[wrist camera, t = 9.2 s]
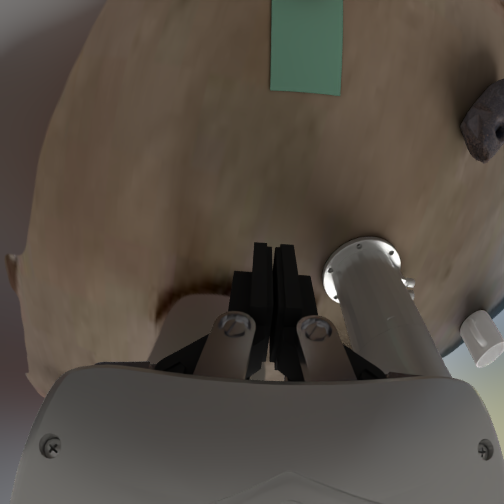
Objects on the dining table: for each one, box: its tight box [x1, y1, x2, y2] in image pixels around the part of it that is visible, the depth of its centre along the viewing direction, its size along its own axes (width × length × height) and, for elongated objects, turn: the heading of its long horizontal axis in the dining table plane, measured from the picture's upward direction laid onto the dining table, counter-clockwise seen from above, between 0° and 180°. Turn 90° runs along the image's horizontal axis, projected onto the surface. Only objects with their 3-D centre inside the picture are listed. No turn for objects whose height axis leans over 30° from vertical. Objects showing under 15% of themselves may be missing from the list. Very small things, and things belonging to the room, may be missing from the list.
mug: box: [460, 310, 504, 368], centre depth 46 cm, size 12×8×10 cm
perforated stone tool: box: [460, 79, 504, 163], centre depth 25 cm, size 15×5×7 cm, turn 145°
